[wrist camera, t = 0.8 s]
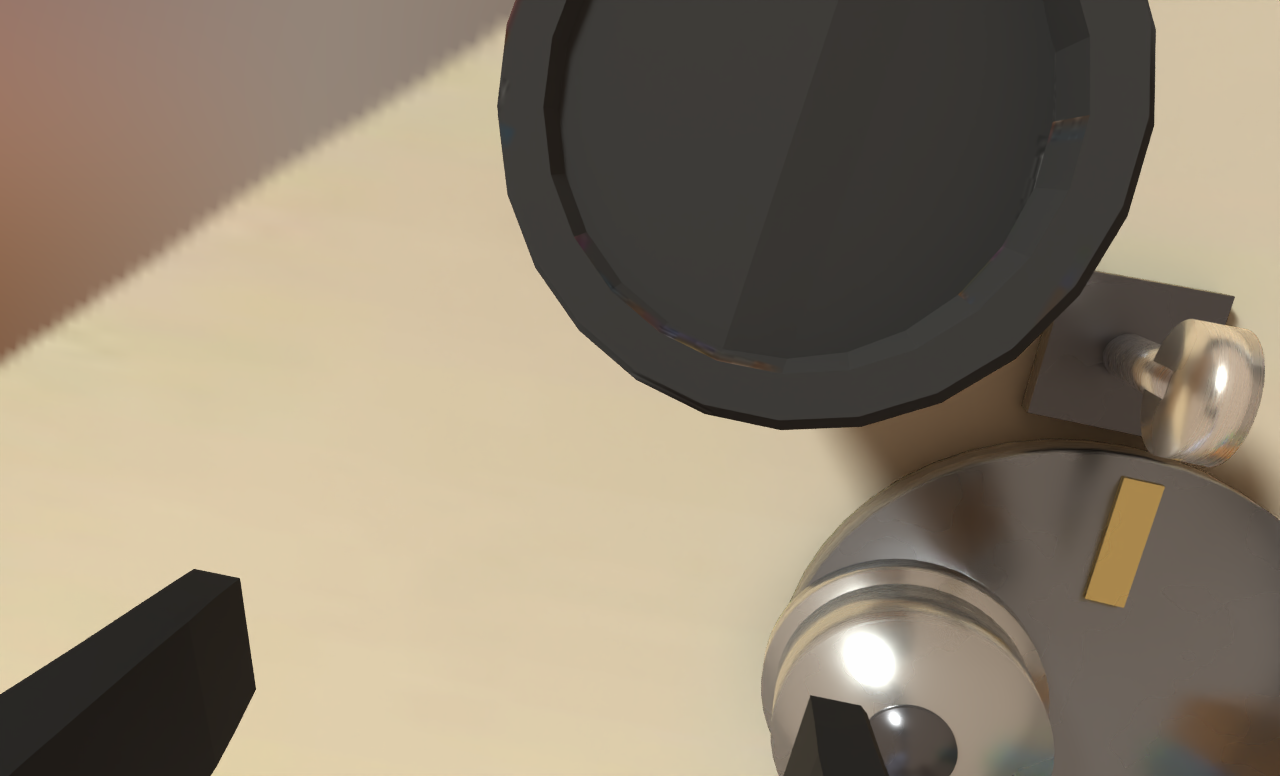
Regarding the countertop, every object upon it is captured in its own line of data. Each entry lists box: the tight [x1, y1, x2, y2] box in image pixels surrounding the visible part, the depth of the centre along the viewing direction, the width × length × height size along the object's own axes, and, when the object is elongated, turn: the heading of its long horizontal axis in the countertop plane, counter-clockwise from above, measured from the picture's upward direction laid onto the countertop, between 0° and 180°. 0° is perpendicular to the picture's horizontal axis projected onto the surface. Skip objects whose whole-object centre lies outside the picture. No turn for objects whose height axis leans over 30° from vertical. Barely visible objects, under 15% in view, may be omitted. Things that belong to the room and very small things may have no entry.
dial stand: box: [1021, 271, 1265, 467], centre depth 20 cm, size 4×4×7 cm
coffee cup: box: [497, 0, 1156, 430], centre depth 17 cm, size 8×8×15 cm
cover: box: [761, 559, 1054, 776], centre depth 24 cm, size 8×8×3 cm
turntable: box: [790, 439, 1280, 776], centre depth 24 cm, size 16×21×4 cm
